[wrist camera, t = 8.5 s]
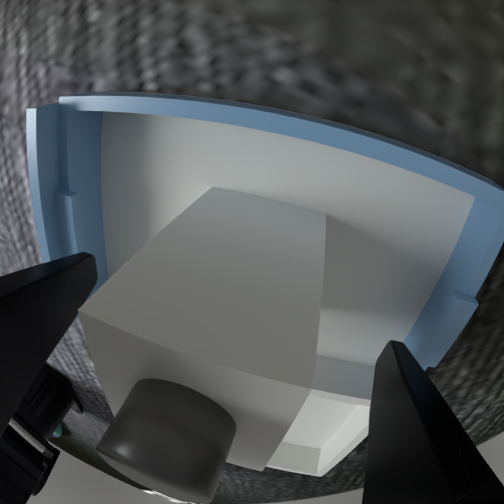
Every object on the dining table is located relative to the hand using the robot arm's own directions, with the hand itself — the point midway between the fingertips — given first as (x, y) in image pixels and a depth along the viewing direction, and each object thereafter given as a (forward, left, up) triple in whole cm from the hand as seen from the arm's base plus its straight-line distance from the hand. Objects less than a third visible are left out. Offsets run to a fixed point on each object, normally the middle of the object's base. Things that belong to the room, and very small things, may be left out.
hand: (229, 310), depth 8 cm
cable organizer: (-5, 0, -4) cm, 6 cm away
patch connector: (0, 0, -4) cm, 4 cm away
